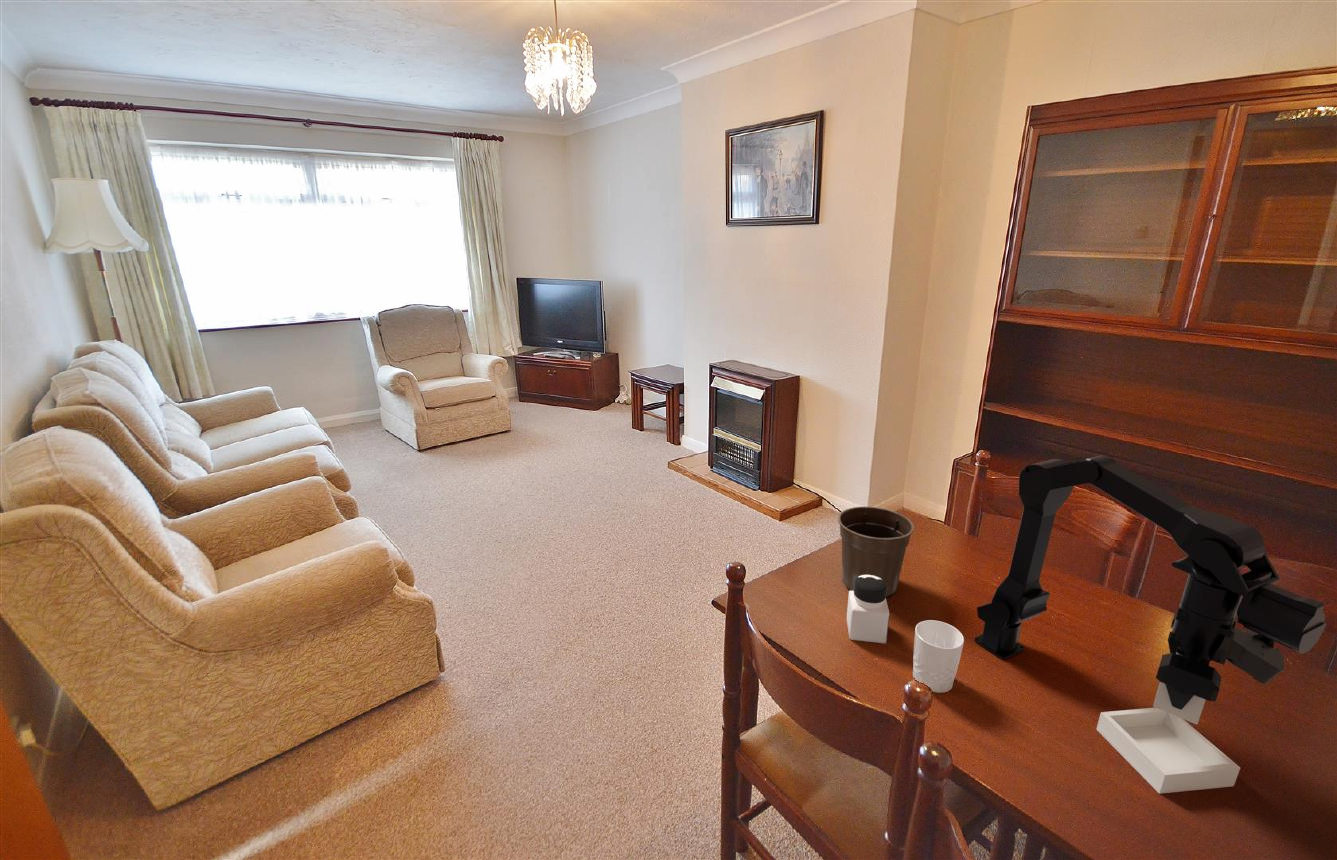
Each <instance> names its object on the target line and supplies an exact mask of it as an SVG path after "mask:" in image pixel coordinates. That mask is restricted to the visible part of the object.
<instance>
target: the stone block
mask: <svg viewBox="0 0 1337 860" xmlns="http://www.w3.org/2000/svg"><path fill="white" fill-rule="evenodd" d="M1154 698H1155V699H1154V701H1153V705H1152V708H1158V709H1161V710H1163V711H1165V712H1168V713H1170V714H1173V715H1175V716H1177V717H1180V718H1182V719H1183V720H1185V721H1186V722H1188V723H1192V724H1193V725H1197V726H1198V723H1199V721H1200V718H1201V714H1202V712H1203V709H1204V706H1205V703H1206V700H1205V699H1203V698H1200V697H1197V696H1195V695H1194V696H1193V697H1192V698H1191V700H1190V701H1189V702H1188V703H1187V704H1186V705H1185V707H1184V708H1183V709H1182V710H1180V709H1177V708H1175V707H1173V706H1172V704H1171V701H1170V698H1169V695H1168V691H1167V688H1166V685H1165V684H1164V683H1162V682H1160V681H1159V683H1158V688H1157V691H1156V694H1155V697H1154Z"/></svg>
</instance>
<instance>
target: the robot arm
mask: <svg viewBox="0 0 1337 860" xmlns="http://www.w3.org/2000/svg"><path fill="white" fill-rule="evenodd" d="M1018 476H1019V477H1018V490H1017V491H1018V496H1019V499H1020V500H1021V503H1022V506H1023V509H1022V513H1021V519H1020V523H1019V528H1018V532H1017V536H1016V541H1015V545H1014V548H1013V549H1014V550H1013V554H1012V558H1011V562H1010V567H1009V571H1008V573H1007V576H1006V577H1005V578H1004V579H1003V581H1001V582H1000V584H999V586H997V588H996V589H995V592H994V594H993V595H992V599H991V601H990V602H989V603H985V604H983V605H980V606H976V612H977V618H978V619H979V620H981V621H982V622H984V625H983V629H982V630H983V631H982V634H980V635H977V636H975V637H974V638H973V641H974V642H975V643H977V644H978V645H980V646H981V647H983V648H984V649H986V650H987V651H989V652H990V653H992V654H993V655H995V656H996V657H998V659H1001V660H1007V659H1008V658H1010V657H1011V658H1012V657H1013V656H1015V655H1017V654H1020V653H1022V652H1024V651H1025V647H1024V645H1021V644H1020V643H1018V642H1019V638H1020V633H1021V628H1022V622H1024V621H1025V622H1026V621H1029V620H1031V619H1033V618H1035V617H1038V616H1040V615H1041V614H1042V613H1044V612H1046V611H1048V608H1047V602H1048V600H1049V598H1050V596H1051V595H1050V592H1048V591H1047V590H1045V589H1044V590H1043V586H1042V585H1041V583H1040V582H1041V581H1040V578H1041V573H1042V570H1043V566H1044V562H1045V558H1046V554H1047V551H1048V546H1049V542H1050V538H1051V536H1052V531H1053V526H1054V523H1055V518H1056V515H1057V512H1058V511H1059V509H1060V508H1061V507H1062V506H1063V505H1064V504H1065V502H1066V501H1067V500H1068V499H1069V498H1070V496H1071V493H1072V492H1073V489H1074V488H1075V486H1078V485H1079V486H1080V485H1084V484H1085V485H1086V484H1090V485H1092V486H1094V487H1096V488H1097V489H1099V490H1100V492H1101V491H1102V492H1103V493H1105V494H1107V495H1108V496H1109V497H1111V498H1113V499H1115V500H1116V501H1118V502H1119V503H1120V504H1122V505H1124V506H1126V507H1127V508H1129V509H1130V510H1131V511H1133V512H1136V513H1137V514H1138V515H1140V516H1142V517H1144V518H1145V519H1147V520H1148V521H1150V522H1151V523H1153V524H1154V525H1156V526H1157V527H1160V528H1161V529H1163V530H1164V531H1165V532H1166V533H1167V534H1169V535H1170V537H1171V538H1172V540H1173V541H1174V542H1175V544H1176V546H1177V547H1178V548H1179V550H1181V551H1182V552H1183V553H1184V554H1186V555H1187V556H1186V557H1182V558H1181V559H1178V560H1174V561H1172V562H1171V566H1172V567H1173V568H1175V569H1177V570H1180V571H1183V572H1184V573H1186V574H1188V576H1187V580H1186V583H1185V586H1184V590H1183V593H1182V596H1181V599H1180V601H1179V605H1178V608H1177V609H1176V610H1174V611H1175V612H1174V614H1173V618H1172V620H1171V624H1170V629H1171V631H1169V634H1168V637H1167V642H1168V643H1167V644H1168V648H1169V649H1168V650H1169V653H1164V654H1162V656H1161V659H1160V663H1159V665H1158V669H1157V673H1156V676H1155V679H1156V680H1157V681H1159V683H1160V682H1162V683H1164V684H1165V685H1166V688H1167V691H1168V695H1169V698H1170V701H1171V704H1172V706H1173V707H1175V708H1177V709H1180V710H1182V709H1183V708H1184V707H1185V705H1186V704H1187V703H1188V702H1189V701H1190V700H1191V698H1192V697H1193V696H1194V695H1195V696H1197V697H1200V698H1203V699H1205V701H1208V702H1216V701H1217V698H1218V695H1219V693H1220V689H1221V683H1222V676H1221V674H1220V673H1219V671H1217V669H1216V668H1215V667H1212V666H1210V663H1211V662H1215V663H1217V664H1220V665H1223V666H1225V664H1226V661H1228V662H1229V663H1231V665H1233V666H1235V667H1236V668H1237V669H1240V670H1241V671H1243V672H1244V673H1246V674H1248V675H1250V677H1252V679H1253V680H1255V681H1256V682H1258V683H1260V684H1263V685H1266V684H1268V683H1269V682H1270V681H1271V680H1273V679H1274V678H1275V677H1277V676H1278V675H1279V674H1280V673H1282V672H1283V671H1285V656H1284V655H1283V654H1282V653H1281V652H1282V650H1281V649H1280V648H1278V647H1277V648H1276V649H1275V647H1274V646H1275V643H1278V644H1280V645H1282V646H1284V647H1286V648H1288V649H1291V650H1293V651H1294V652H1297V653H1299V654H1302V655H1303V654H1306V653H1308V652H1309V651H1311V649H1312V648H1313V647H1314V646H1316V644H1317V643H1318V642H1319V639H1320V638H1321V636H1322V634H1323V632H1324V630H1325V629H1326V625H1327V623H1326V622H1325V620H1326V614H1325V613H1324V612H1323V611H1324V608H1325V604H1324V602H1322V601H1318V600H1316V599H1313V598H1310V597H1307V596H1302V595H1300V594H1297V593H1295V592H1291V591H1290V590H1287V589H1285V588H1282V587H1280V586H1277V585H1275V584H1276V583H1277V582H1279V581H1280V576H1279V574H1278V572H1276V570H1275V567H1274V566H1273V563H1272V561H1271V560H1270V558H1269V556H1268V555H1267V553H1266V543H1265V542H1264V537H1263V535H1262V533H1260V531H1259V530H1257V529H1256V528H1255V527H1253V526H1251V525H1249V524H1246V523H1245V522H1242V521H1239V520H1236V519H1234V518H1231V517H1230V516H1227V515H1224V514H1221V513H1218V512H1215V511H1214V512H1213V511H1209V510H1207V509H1206V510H1205V509H1201V508H1199V507H1196V506H1193V505H1191V504H1189V503H1187V502H1186V501H1184V500H1182V499H1180V498H1179V497H1177V496H1175V495H1173V494H1172V493H1171V492H1168V491H1166V490H1164V489H1163V488H1161V487H1159V486H1157V485H1156V484H1154V483H1152V482H1150V480H1147V479H1145V478H1144V477H1143V476H1140V475H1138V474H1136V473H1135V472H1133V471H1131V470H1130V469H1129V468H1127V467H1125V466H1122V465H1121V464H1119V463H1118V462H1117V461H1116V460H1115V459H1114V458H1113V457H1110V456H1108V455H1096V456H1093V457H1087V458H1084V459H1081V460H1080V459H1079V460H1074V461H1069V462H1067V461H1066V460H1063V459H1060V458H1055V459H1054V458H1053V459H1049V460H1045V461H1040V462H1037V463H1032V464H1028V465H1026V466H1024V467H1022V469H1020V472H1019V475H1018ZM1245 567H1247V568H1248V569H1249V570H1250V571H1247V572H1245V573H1243V574H1242V573H1241V572H1240V570H1239V569H1241V568H1245ZM1236 616H1237V618H1236ZM1237 623H1238V624H1240V625H1242V627H1244V628H1245V629H1244V630H1241V629H1240V628H1238V627H1235V626H1236V624H1237Z"/></svg>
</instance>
